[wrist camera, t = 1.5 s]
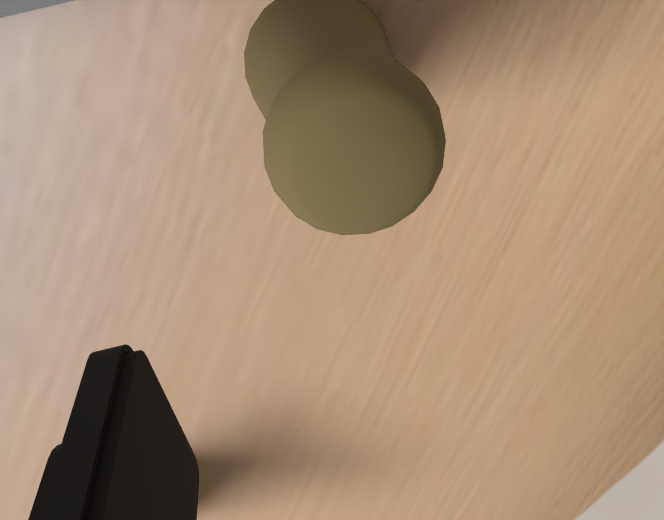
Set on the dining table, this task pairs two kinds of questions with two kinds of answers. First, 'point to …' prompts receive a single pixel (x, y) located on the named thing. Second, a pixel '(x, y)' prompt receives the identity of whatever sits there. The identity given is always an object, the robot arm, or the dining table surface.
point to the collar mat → (25, 5)
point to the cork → (341, 116)
